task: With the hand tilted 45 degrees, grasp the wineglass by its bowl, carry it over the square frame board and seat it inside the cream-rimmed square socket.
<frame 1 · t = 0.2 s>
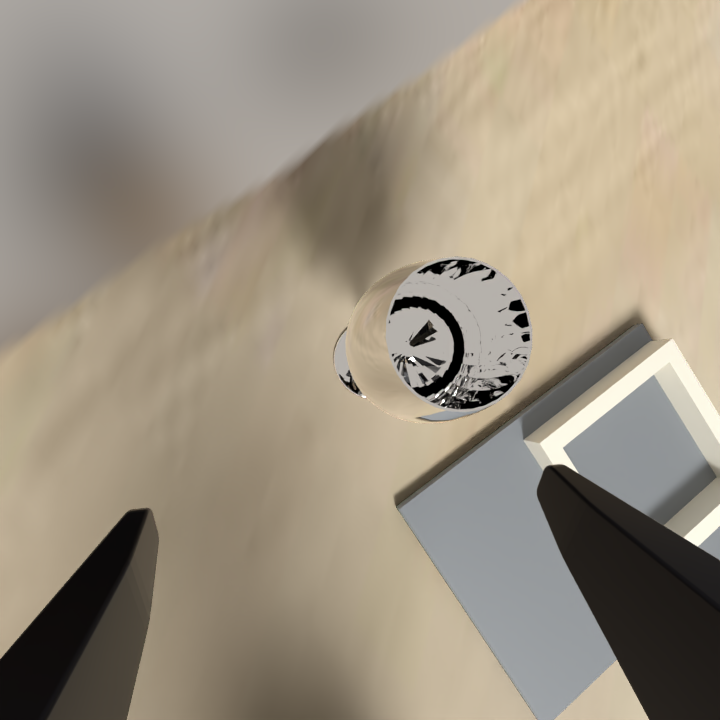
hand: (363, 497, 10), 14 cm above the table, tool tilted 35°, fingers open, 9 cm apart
wineglass: (372, 359, 25), on the table
square frame board: (588, 512, 27), on the table
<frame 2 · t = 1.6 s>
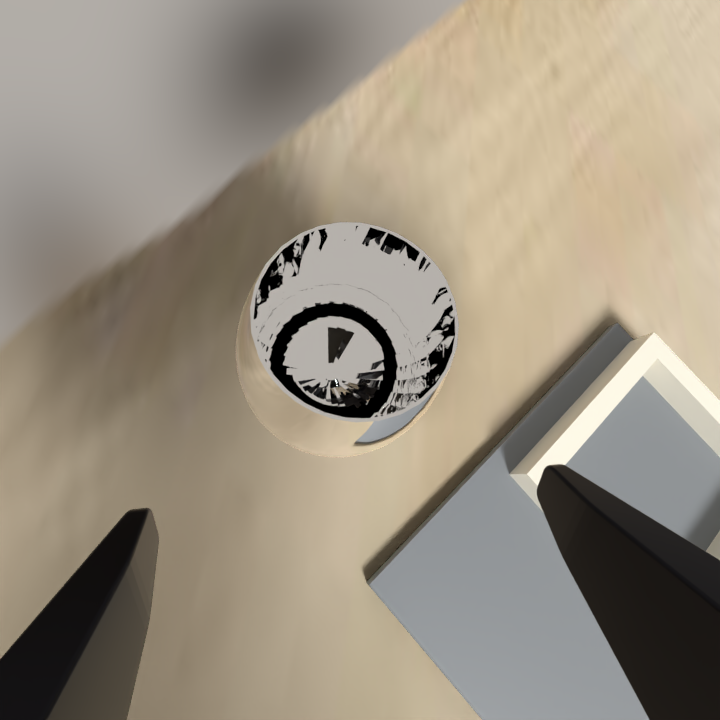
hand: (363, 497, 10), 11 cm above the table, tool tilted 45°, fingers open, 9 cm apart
wineglass: (315, 403, 21), on the table
square frame board: (607, 554, 22), on the table
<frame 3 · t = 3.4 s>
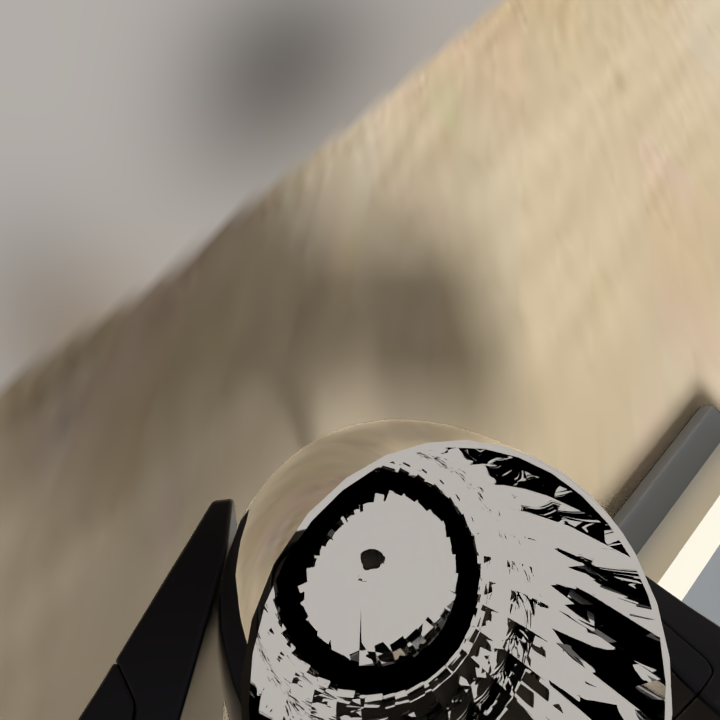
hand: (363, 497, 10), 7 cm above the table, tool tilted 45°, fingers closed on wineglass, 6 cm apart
wineglass: (333, 526, 16), on the table, touching gripper
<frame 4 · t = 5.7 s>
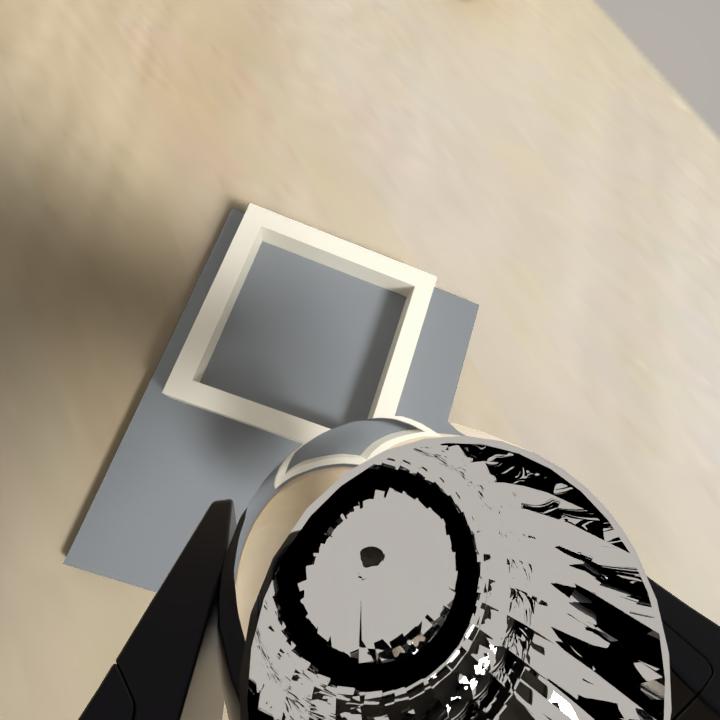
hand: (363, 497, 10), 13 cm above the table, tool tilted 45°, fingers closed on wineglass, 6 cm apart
wineglass: (333, 524, 16), point 6 cm above the table, touching gripper
square frame board: (300, 416, 23), on the table
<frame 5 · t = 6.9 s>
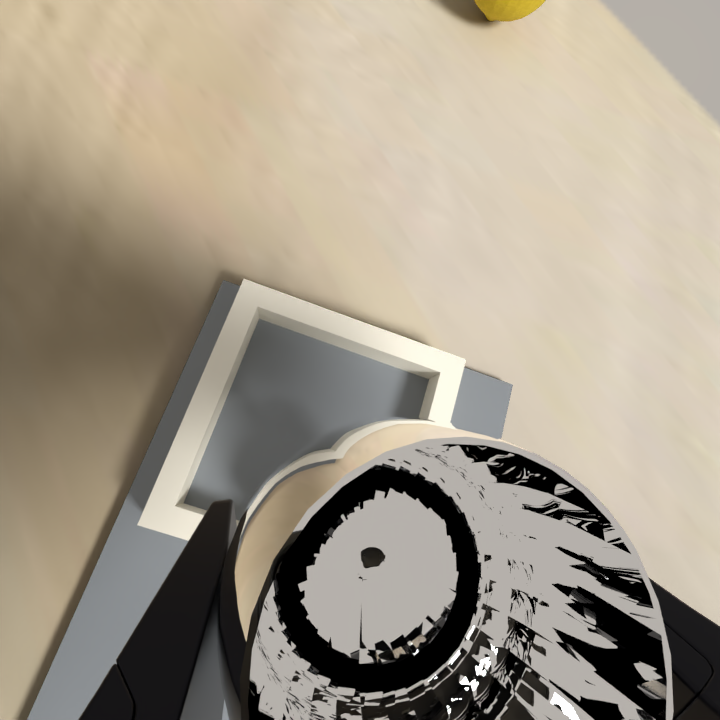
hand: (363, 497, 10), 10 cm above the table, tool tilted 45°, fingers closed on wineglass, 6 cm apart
wineglass: (333, 525, 16), point 4 cm above the table, touching gripper
square frame board: (306, 532, 19), on the table
lemon: (488, 21, 29), on the table
when the fingers open (8 cm above the table, at t = 8.1 s): wineglass drops 1 cm, resting on square frame board.
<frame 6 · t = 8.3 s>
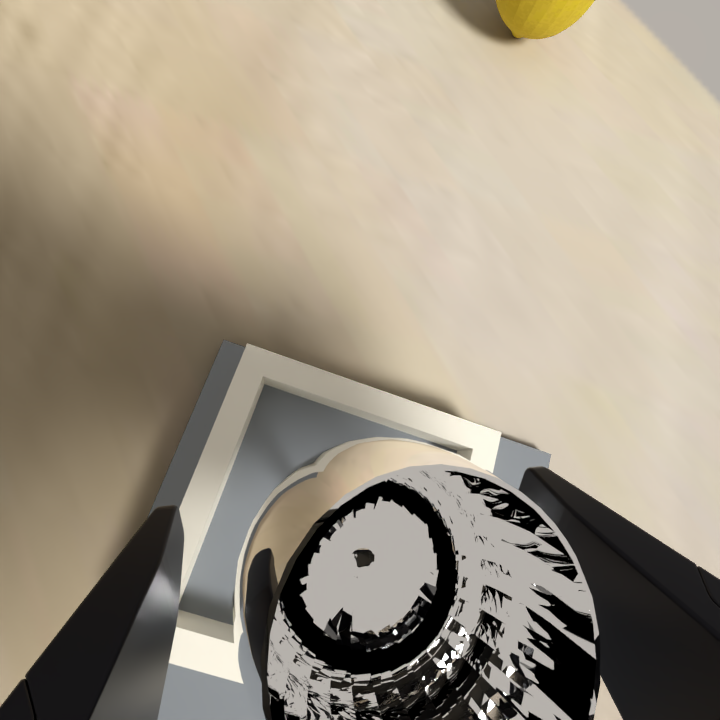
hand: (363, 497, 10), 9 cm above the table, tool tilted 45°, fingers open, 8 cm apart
wineglass: (327, 525, 17), resting on square frame board
square frame board: (319, 635, 17), on the table
lemon: (514, 38, 26), on the table
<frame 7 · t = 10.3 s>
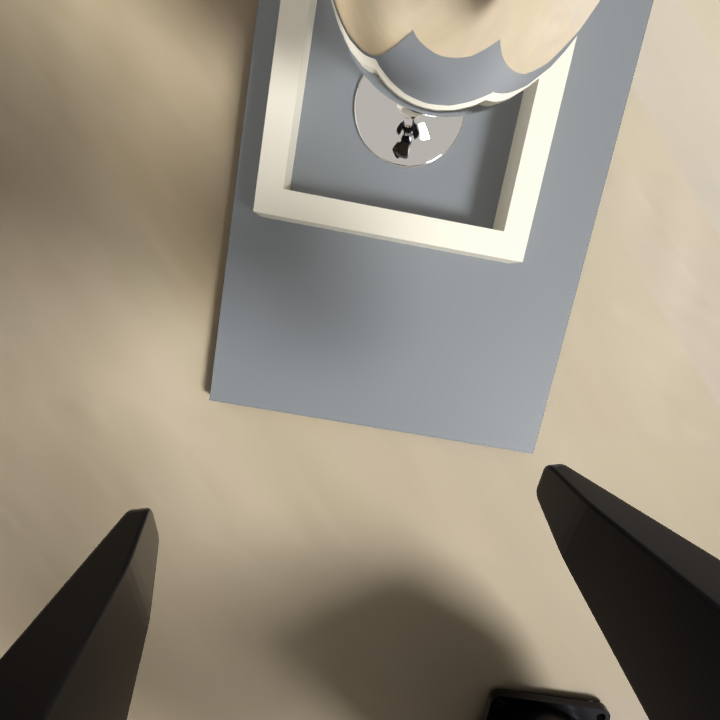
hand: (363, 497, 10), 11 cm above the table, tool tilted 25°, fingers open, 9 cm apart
wineglass: (408, 111, 18), resting on square frame board
square frame board: (414, 215, 19), on the table
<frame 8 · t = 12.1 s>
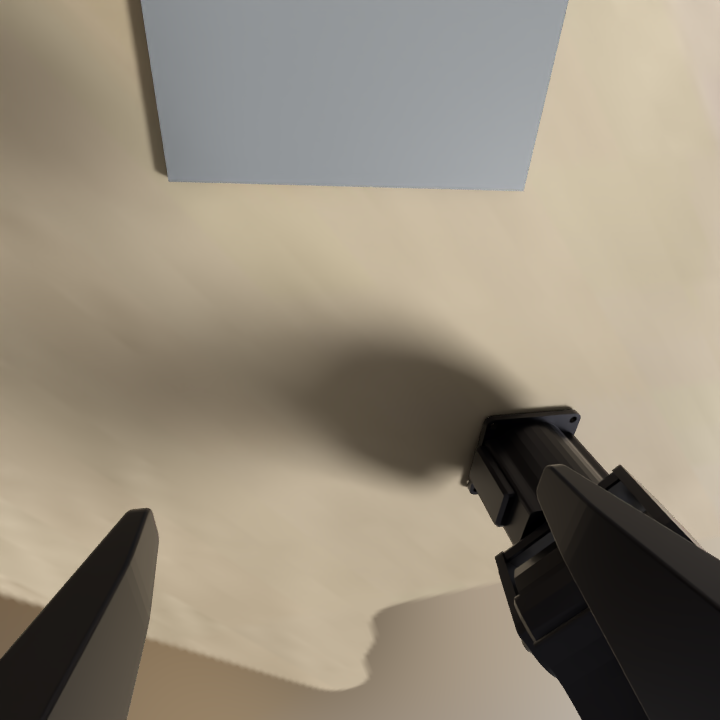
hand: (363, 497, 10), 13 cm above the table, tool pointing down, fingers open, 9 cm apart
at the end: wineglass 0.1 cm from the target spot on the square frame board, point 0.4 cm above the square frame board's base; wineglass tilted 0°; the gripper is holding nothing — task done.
